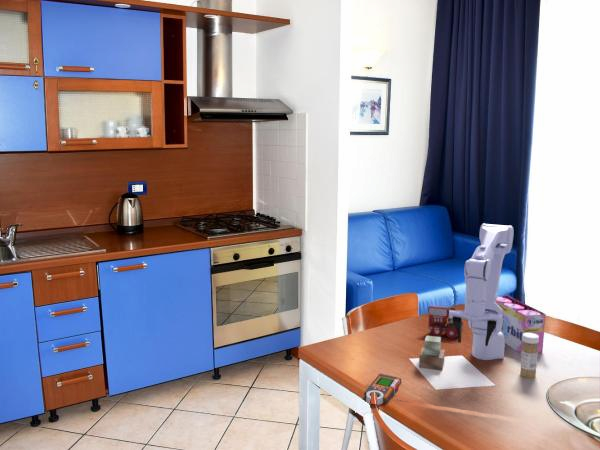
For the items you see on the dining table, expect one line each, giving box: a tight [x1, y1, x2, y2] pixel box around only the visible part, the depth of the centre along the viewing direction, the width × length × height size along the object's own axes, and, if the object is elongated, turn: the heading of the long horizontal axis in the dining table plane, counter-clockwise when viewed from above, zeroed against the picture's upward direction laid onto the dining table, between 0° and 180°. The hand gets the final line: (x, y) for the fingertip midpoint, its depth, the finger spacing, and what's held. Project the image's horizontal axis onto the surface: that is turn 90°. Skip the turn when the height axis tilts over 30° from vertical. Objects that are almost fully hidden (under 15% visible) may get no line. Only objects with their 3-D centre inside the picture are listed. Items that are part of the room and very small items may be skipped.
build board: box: [408, 355, 496, 391], centre depth 169 cm, size 18×22×1 cm
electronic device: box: [363, 373, 402, 406], centre depth 156 cm, size 7×3×15 cm
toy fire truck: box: [427, 305, 464, 339], centre depth 201 cm, size 7×12×10 cm, turn 75°
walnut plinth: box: [418, 346, 446, 371], centre depth 174 cm, size 7×7×4 cm
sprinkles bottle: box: [519, 333, 539, 379], centre depth 166 cm, size 5×5×13 cm
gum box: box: [492, 294, 546, 354], centre depth 195 cm, size 24×8×14 cm, turn 13°
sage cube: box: [424, 335, 442, 356], centre depth 173 cm, size 4×4×4 cm
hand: (473, 343), depth 167 cm, fingers open, 7 cm apart
